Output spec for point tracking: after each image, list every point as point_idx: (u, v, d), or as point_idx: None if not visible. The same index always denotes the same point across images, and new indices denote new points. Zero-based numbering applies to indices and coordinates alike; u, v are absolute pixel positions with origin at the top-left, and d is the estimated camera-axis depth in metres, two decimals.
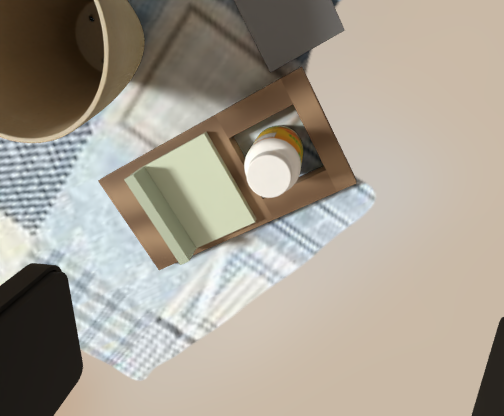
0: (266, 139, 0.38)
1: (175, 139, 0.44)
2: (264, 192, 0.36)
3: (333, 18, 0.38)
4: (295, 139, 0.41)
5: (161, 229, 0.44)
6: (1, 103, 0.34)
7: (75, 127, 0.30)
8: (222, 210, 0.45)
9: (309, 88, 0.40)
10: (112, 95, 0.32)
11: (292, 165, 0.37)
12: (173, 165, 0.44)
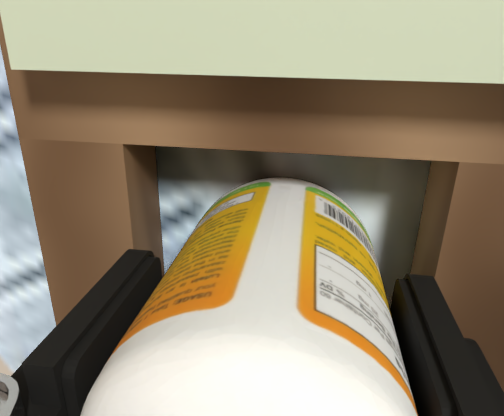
0: None
1: None
2: None
3: None
4: None
5: None
6: None
7: None
8: None
9: None
10: None
11: None
12: None
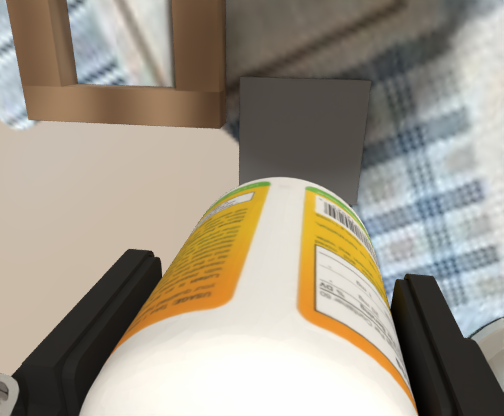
0: None
1: None
2: None
3: None
4: None
5: None
6: None
7: None
8: None
9: (187, 125, 0.26)
10: None
11: None
12: None
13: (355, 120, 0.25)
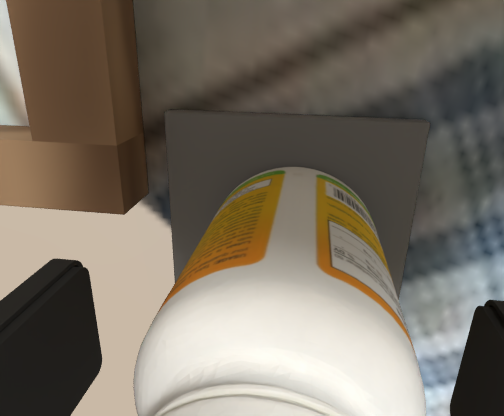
0: None
1: None
2: None
3: None
4: None
5: None
6: None
7: None
8: None
9: (61, 205, 0.13)
10: None
11: None
12: None
13: (394, 198, 0.13)
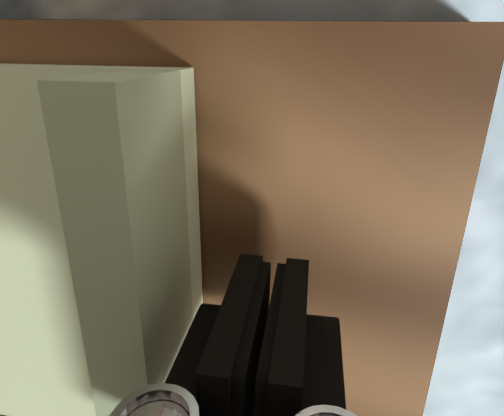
0: None
1: None
2: None
3: None
4: None
5: (116, 338, 0.08)
6: None
7: None
8: None
9: None
10: None
11: None
12: (65, 391, 0.13)
13: None
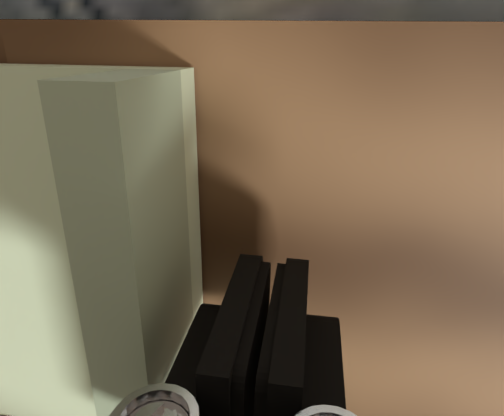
0: None
1: None
2: None
3: None
4: None
5: (116, 338, 0.08)
6: None
7: None
8: None
9: None
10: None
11: None
12: (66, 391, 0.13)
13: None
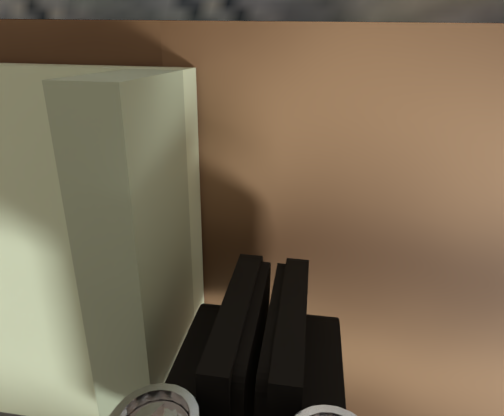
0: None
1: None
2: None
3: None
4: None
5: (118, 336, 0.08)
6: None
7: None
8: None
9: None
10: None
11: None
12: (67, 389, 0.13)
13: None
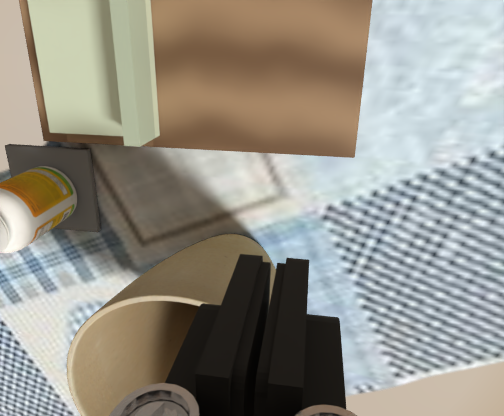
0: None
1: (215, 148, 0.33)
2: None
3: (12, 161, 0.38)
4: None
5: (124, 50, 0.27)
6: None
7: (165, 296, 0.22)
8: (63, 22, 0.30)
9: (40, 116, 0.34)
10: (149, 275, 0.26)
11: None
12: (102, 117, 0.32)
13: (73, 223, 0.39)
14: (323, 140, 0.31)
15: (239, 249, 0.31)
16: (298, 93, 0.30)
